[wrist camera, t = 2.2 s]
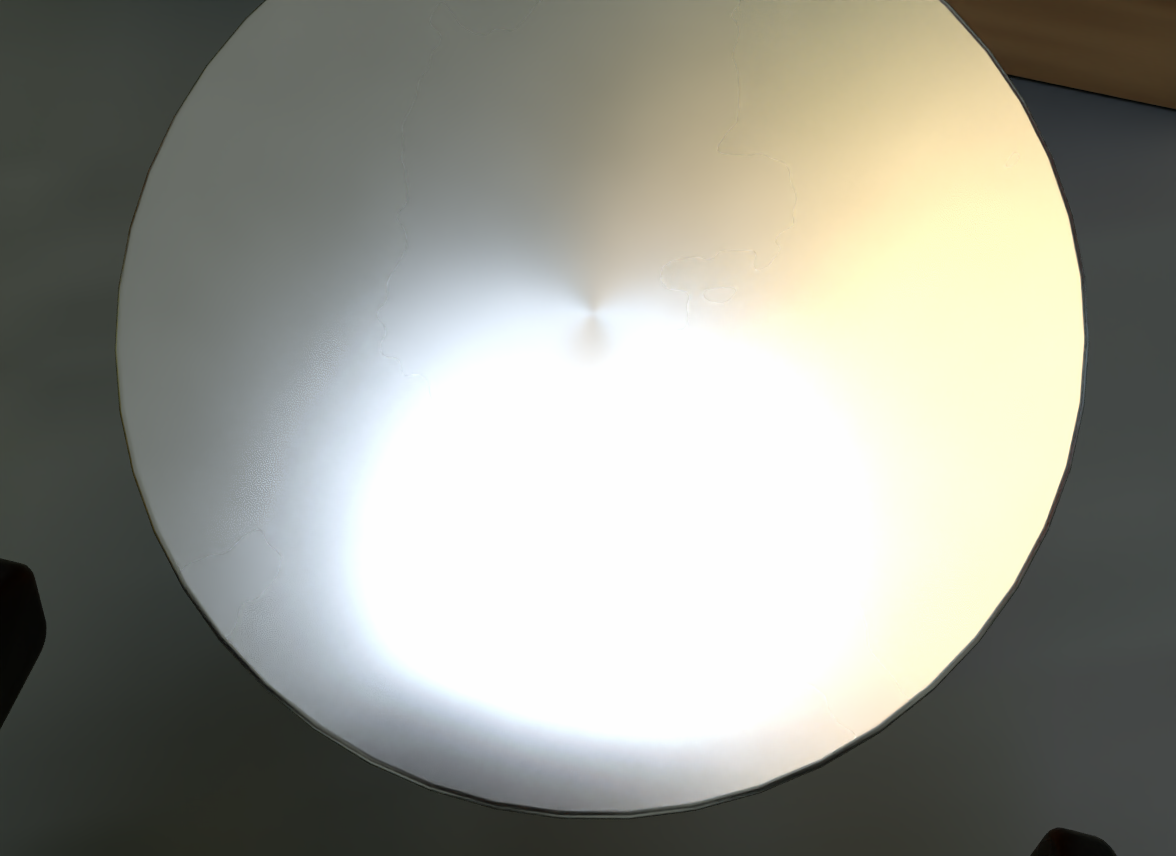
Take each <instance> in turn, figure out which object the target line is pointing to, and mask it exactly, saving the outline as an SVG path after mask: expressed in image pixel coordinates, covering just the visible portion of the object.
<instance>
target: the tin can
mask: <svg viewBox="0 0 1176 856" xmlns="http://www.w3.org/2000/svg"><path fill="white" fill-rule="evenodd" d="M1088 350H1089V333H1088V316H1087V300H1086V283H1085V274H1084V269H1083V264H1082V259H1081V254H1080V249H1079V244H1078V239H1077V234H1076V229H1075V224H1074V219H1073V215H1072V212H1071V209H1070V206H1069V203H1068V200H1067V197H1066V194H1065V191H1064V188H1063V185H1062V183H1061V180H1060V177H1059V174H1058V171H1057V168H1056V165H1055V162H1054V159H1053V156H1052V154H1051V152H1050V150H1049V148H1048V146H1047V144H1046V142H1045V140H1044V138H1043V136H1042V134H1041V132H1040V130H1039V128H1038V126H1037V124H1036V122H1035V120H1034V118H1033V116H1032V114H1031V112H1030V110H1029V108H1028V106H1027V104H1026V102H1025V101H1024V99H1023V98H1022V96H1021V95H1020V93H1019V92H1018V90H1017V89H1016V87H1015V86H1014V84H1013V83H1012V81H1011V80H1010V78H1009V77H1008V75H1007V74H1006V72H1005V71H1004V70H1003V68H1002V67H1001V65H1000V64H999V62H998V61H997V59H996V58H995V56H994V55H993V53H992V52H991V50H990V49H989V48H988V47H987V46H986V45H985V43H984V42H983V41H982V40H981V39H980V38H979V37H978V36H977V34H976V33H975V32H974V31H973V30H972V29H971V28H970V27H969V25H968V24H967V23H966V22H965V21H964V20H963V19H962V18H961V16H960V15H959V14H958V13H957V12H956V11H955V10H954V8H953V7H952V6H951V5H950V4H949V3H948V2H947V1H945V0H265V1H264V2H263V3H261V4H260V5H259V6H258V7H257V8H256V9H255V10H254V11H253V12H252V13H251V14H250V15H249V16H248V17H247V18H246V19H245V20H244V21H243V22H242V23H241V24H240V26H239V27H238V28H237V29H236V30H235V32H234V33H233V34H232V35H231V36H230V38H229V39H228V40H227V41H226V42H225V44H224V45H223V46H222V47H221V49H220V50H219V51H218V52H217V53H216V55H215V56H214V57H213V58H212V59H211V61H210V62H209V63H208V64H207V65H206V67H205V69H204V70H203V72H202V73H201V75H200V76H199V78H198V80H197V81H196V83H195V84H194V86H193V87H192V89H191V90H190V92H189V94H188V95H187V97H186V98H185V100H184V101H183V103H182V105H181V106H180V108H179V109H178V111H177V112H176V114H175V116H174V117H173V120H172V122H171V124H170V126H169V128H168V130H167V132H166V134H165V136H164V139H163V141H162V143H161V145H160V147H159V149H158V151H157V153H156V156H155V158H154V160H153V162H152V164H151V166H150V168H149V170H148V173H147V176H146V179H145V182H144V185H143V189H142V192H141V195H140V198H139V201H138V204H137V207H136V210H135V213H134V216H133V219H132V222H131V225H130V229H129V234H128V239H127V244H126V250H125V255H124V260H123V266H122V271H121V276H120V282H119V287H118V302H117V320H116V338H115V358H116V371H117V384H118V397H119V410H120V416H121V420H122V425H123V430H124V435H125V439H126V444H127V449H128V453H129V458H130V463H131V468H132V472H133V476H134V478H135V481H136V484H137V487H138V490H139V492H140V495H141V498H142V501H143V504H144V506H145V509H146V512H147V515H148V518H149V520H150V523H151V526H152V529H153V532H154V534H155V536H156V538H157V540H158V542H159V544H160V546H161V547H162V549H163V551H164V553H165V555H166V557H167V559H168V561H169V563H170V565H171V567H172V569H173V571H174V573H175V575H176V576H177V578H178V580H179V582H180V584H181V586H182V588H183V590H184V591H185V593H186V594H187V595H188V597H189V598H190V600H191V601H192V603H193V604H194V605H195V607H196V608H197V610H198V611H199V612H200V614H201V615H202V617H203V618H204V620H205V621H206V622H207V624H208V625H209V627H210V628H211V630H212V631H213V632H214V634H215V635H216V637H217V638H218V640H219V641H220V642H221V643H222V644H223V645H224V646H225V647H226V649H227V650H228V651H229V652H230V653H231V654H232V655H233V656H234V657H235V658H236V659H237V660H238V661H239V663H240V664H241V665H242V666H243V667H244V668H245V669H246V670H247V671H248V672H249V673H250V674H251V676H252V677H253V678H254V679H255V680H256V681H257V682H258V683H259V684H260V685H261V686H262V687H263V688H264V689H265V690H266V691H267V692H268V693H270V694H271V695H272V696H273V697H275V698H276V699H277V700H278V701H279V702H281V703H282V704H283V705H284V706H286V707H287V708H288V709H289V710H290V711H292V712H293V713H294V714H295V715H296V716H298V717H299V718H300V719H301V720H303V721H304V722H305V723H306V724H307V725H309V726H310V727H311V728H312V729H314V730H315V731H317V732H318V733H320V734H322V735H323V736H325V737H326V738H328V739H330V740H331V741H333V742H335V743H336V744H338V745H339V746H341V747H343V748H344V749H346V750H348V751H349V752H351V753H352V754H354V755H356V756H357V757H359V758H361V759H362V760H364V761H365V762H367V763H369V764H371V765H373V766H375V767H377V768H380V769H382V770H384V771H386V772H389V773H391V774H393V775H396V776H398V777H400V778H402V779H405V780H407V781H409V782H411V783H414V784H416V785H418V786H421V787H423V788H425V789H427V790H430V791H433V792H436V793H440V794H443V795H447V796H450V797H454V798H457V799H461V800H464V801H468V802H471V803H474V804H478V805H481V806H485V807H488V808H492V809H496V810H503V811H510V812H517V813H524V814H531V815H538V816H545V817H552V818H559V819H635V818H643V817H650V816H658V815H666V814H674V813H681V812H689V811H696V810H700V809H703V808H707V807H711V806H715V805H718V804H722V803H726V802H729V801H733V800H737V799H740V798H744V797H748V796H752V795H755V794H759V793H762V792H764V791H767V790H769V789H771V788H774V787H776V786H778V785H781V784H783V783H786V782H788V781H790V780H793V779H795V778H797V777H800V776H802V775H804V774H807V773H809V772H812V771H814V770H816V769H819V768H821V767H823V766H825V765H827V764H828V763H830V762H832V761H833V760H835V759H837V758H838V757H840V756H842V755H843V754H845V753H847V752H848V751H850V750H852V749H853V748H855V747H857V746H858V745H860V744H862V743H864V742H865V741H867V740H869V739H870V738H872V737H874V736H875V735H877V734H879V733H880V732H882V731H883V730H884V729H885V728H887V727H888V726H889V725H890V724H892V723H893V722H894V721H895V720H897V719H898V718H899V717H900V716H902V715H903V714H904V713H905V712H907V711H908V710H909V709H911V708H912V707H913V706H914V705H916V704H917V703H918V702H919V701H921V700H922V699H923V698H924V697H926V696H927V695H928V694H929V693H931V692H932V691H933V690H934V689H935V688H936V687H937V686H938V685H939V684H940V683H941V682H942V681H943V680H944V679H945V677H946V676H947V675H948V674H949V673H950V672H951V671H952V670H953V669H954V668H955V667H956V666H957V665H958V664H959V663H960V662H961V661H962V660H963V659H964V658H965V656H966V655H967V654H968V653H969V652H970V651H971V650H972V649H973V648H974V647H975V646H976V645H977V644H978V643H979V642H980V640H981V639H982V637H983V636H984V635H985V633H986V632H987V630H988V629H989V628H990V626H991V625H992V624H993V622H994V621H995V619H996V618H997V617H998V615H999V614H1000V612H1001V611H1002V610H1003V608H1004V607H1005V605H1006V604H1007V603H1008V601H1009V600H1010V599H1011V597H1012V596H1013V594H1014V593H1015V592H1016V590H1017V589H1018V587H1019V585H1020V583H1021V581H1022V579H1023V578H1024V576H1025V574H1026V572H1027V570H1028V568H1029V566H1030V564H1031V562H1032V561H1033V559H1034V557H1035V555H1036V553H1037V551H1038V549H1039V547H1040V545H1041V544H1042V542H1043V540H1044V538H1045V536H1046V534H1047V532H1048V530H1049V527H1050V525H1051V522H1052V519H1053V516H1054V514H1055V511H1056V508H1057V505H1058V503H1059V500H1060V497H1061V494H1062V492H1063V489H1064V486H1065V484H1066V481H1067V478H1068V475H1069V473H1070V470H1071V466H1072V461H1073V456H1074V452H1075V447H1076V442H1077V438H1078V433H1079V428H1080V424H1081V419H1082V414H1083V410H1084V403H1085V390H1086V377H1087V364H1088Z"/></svg>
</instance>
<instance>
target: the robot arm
mask: <svg viewBox="0 0 1176 856" xmlns="http://www.w3.org/2000/svg"><path fill="white" fill-rule="evenodd" d="M45 638H46V620H45V616H44V612H43V608H42V604H41V601H40V597H39V593H38V589H37V585H36V581H35V577H34V574H33V572H32V571H31V569H30V568H29V567H27V566H26V565H24V564H21V563H17V562H13V561H9V560H5V559H1V558H0V729H1V727H2V725H3V723H4V721H5V719H6V718H7V716H8V714H9V712H10V710H11V708H12V706H13V704H14V702H15V700H16V699H17V697H18V695H19V693H20V691H21V689H22V687H23V685H24V683H25V681H26V680H27V678H28V676H29V674H30V672H31V670H32V668H33V666H34V664H35V662H36V661H37V659H38V657H39V655H40V653H41V651H42V648H43V645H44V642H45ZM1031 856H1117V855H1116V854H1115V852H1114V851H1113V850H1112V848H1111V847H1110V846H1109V845H1108V844H1107V843H1106V842H1105V841H1104V840H1102V839H1100V838H1098V837H1096V836H1092V835H1088V834H1084V833H1080V832H1077V831H1073V830H1069V829H1065V828H1055V829H1052V830H1050V831H1049V832H1048V833H1047V834H1046V835H1045V836H1044V838H1043V839H1042V840H1041V842H1040V843H1039V845H1038V846H1037V847H1036V849H1035V850H1034V851H1033V853H1032V854H1031Z"/></svg>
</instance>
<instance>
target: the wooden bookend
mask: <svg viewBox="0 0 1176 856" xmlns="http://www.w3.org/2000/svg"><path fill="white" fill-rule="evenodd" d="M945 1H947V2H948V3H949V4H950V5H951V6H952V7H953V8H954V10H955V11H956V12H957V13H958V14H959V15H960V16H961V18H962V19H963V20H964V21H965V22H966V23H967V24H968V25H969V27H970V28H971V29H972V30H973V31H974V32H975V33H976V34H977V36H978V37H979V38H980V39H981V40H982V41H983V42H984V43H985V45H986V46H987V47H988V48H989V49H990V50H991V52H992V53H993V55H994V56H995V58H996V59H997V61H998V62H999V64H1000V65H1001V67H1002V68H1003V70H1004V71H1005V72H1006V74H1009V75H1014V76H1018V77H1023V78H1028V79H1033V80H1038V81H1042V82H1047V83H1052V84H1057V85H1062V86H1066V87H1071V88H1076V89H1081V90H1086V91H1090V92H1095V93H1100V94H1105V95H1110V96H1114V97H1119V98H1124V99H1129V100H1134V101H1139V102H1143V103H1148V104H1153V105H1158V106H1163V107H1167V108H1172V109H1176V0H945Z"/></svg>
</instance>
